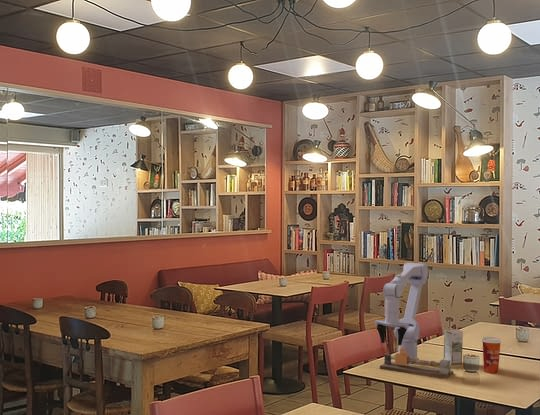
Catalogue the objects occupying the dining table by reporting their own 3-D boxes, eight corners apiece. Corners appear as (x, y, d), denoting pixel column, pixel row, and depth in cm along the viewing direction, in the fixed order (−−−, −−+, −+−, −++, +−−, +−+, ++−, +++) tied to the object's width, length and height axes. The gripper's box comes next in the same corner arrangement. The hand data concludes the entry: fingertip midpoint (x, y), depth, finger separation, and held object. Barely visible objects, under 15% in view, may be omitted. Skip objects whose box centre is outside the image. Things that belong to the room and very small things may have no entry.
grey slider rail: (388, 364, 280) (388, 350, 281) (453, 373, 266) (453, 359, 266) (379, 368, 272) (380, 354, 272) (446, 378, 257) (446, 363, 257)
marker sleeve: (398, 361, 275) (398, 346, 275) (409, 363, 272) (410, 348, 272) (394, 363, 272) (395, 348, 272) (406, 365, 269) (406, 350, 269)
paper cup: (488, 374, 266) (488, 340, 266) (477, 370, 273) (478, 336, 273) (504, 373, 268) (505, 339, 268) (493, 369, 275) (494, 336, 275)
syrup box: (454, 360, 290) (454, 328, 290) (462, 363, 284) (463, 330, 284) (443, 361, 288) (444, 328, 288) (451, 364, 282) (452, 331, 282)
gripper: (372, 311, 275) (371, 343, 275) (405, 314, 268) (404, 347, 267) (378, 309, 281) (378, 340, 281) (411, 312, 274) (410, 344, 273)
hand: (391, 343), depth 275 cm, fingers open, 7 cm apart
